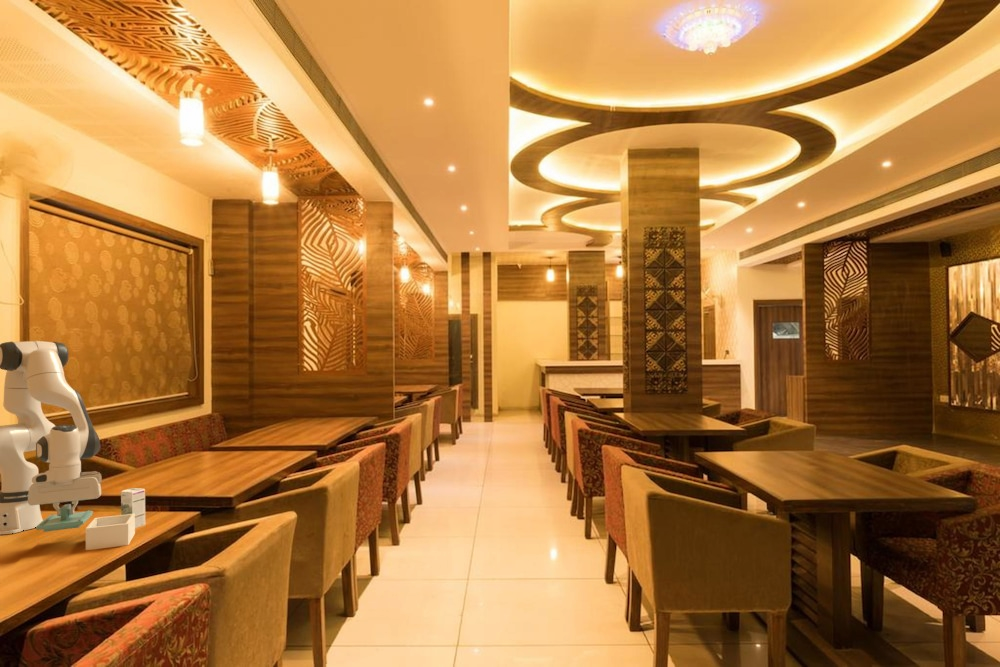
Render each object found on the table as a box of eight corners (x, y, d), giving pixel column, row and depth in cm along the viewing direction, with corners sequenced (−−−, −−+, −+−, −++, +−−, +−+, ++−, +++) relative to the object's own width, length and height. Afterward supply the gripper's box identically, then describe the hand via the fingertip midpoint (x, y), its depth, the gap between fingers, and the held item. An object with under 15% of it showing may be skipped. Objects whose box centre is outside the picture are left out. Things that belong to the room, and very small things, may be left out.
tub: (85, 553, 199) (85, 528, 200) (95, 541, 212) (95, 517, 213) (128, 547, 204) (128, 523, 204) (135, 536, 217) (134, 513, 217)
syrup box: (146, 527, 228) (146, 488, 229) (132, 531, 223) (131, 491, 223) (134, 526, 230) (134, 487, 230) (120, 530, 224) (120, 490, 225)
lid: (36, 533, 197) (36, 513, 197) (49, 522, 211) (49, 503, 211) (83, 528, 202) (82, 508, 202) (92, 517, 216) (92, 499, 216)
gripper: (103, 468, 214) (103, 508, 214) (31, 475, 206) (32, 516, 206) (99, 471, 208) (100, 512, 208) (25, 478, 200) (26, 521, 200)
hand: (65, 514), depth 207 cm, fingers closed on lid
